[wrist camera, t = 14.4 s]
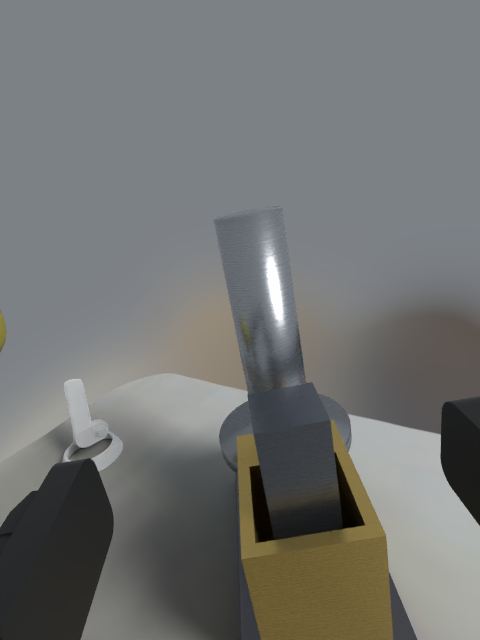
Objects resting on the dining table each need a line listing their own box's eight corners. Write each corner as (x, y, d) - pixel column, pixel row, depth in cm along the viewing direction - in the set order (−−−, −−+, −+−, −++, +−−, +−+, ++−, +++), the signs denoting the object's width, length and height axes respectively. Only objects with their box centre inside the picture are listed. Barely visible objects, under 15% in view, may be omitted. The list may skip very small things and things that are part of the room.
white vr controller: (97, 385, 57) (109, 370, 52) (119, 466, 54) (134, 458, 48) (42, 399, 52) (48, 383, 47) (62, 488, 49) (72, 481, 44)
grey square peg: (284, 579, 29) (247, 394, 23) (336, 569, 29) (312, 382, 23) (294, 638, 25) (253, 434, 20) (354, 627, 25) (330, 419, 20)
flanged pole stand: (237, 478, 41) (179, 220, 32) (339, 461, 41) (309, 196, 32) (246, 706, 23) (118, 265, 14) (428, 678, 23) (417, 210, 14)
